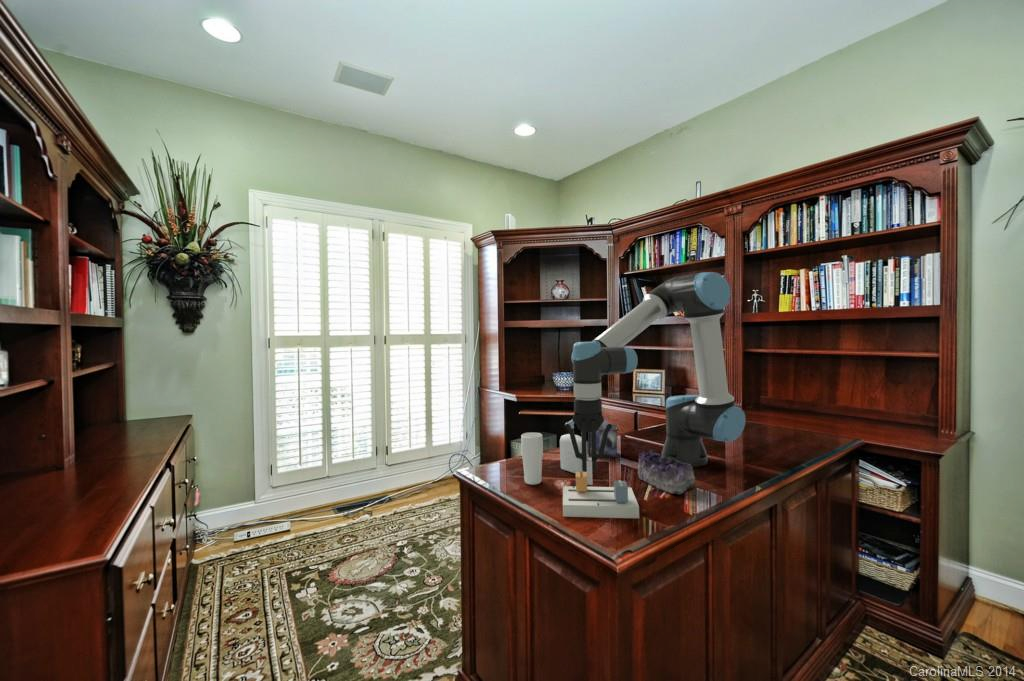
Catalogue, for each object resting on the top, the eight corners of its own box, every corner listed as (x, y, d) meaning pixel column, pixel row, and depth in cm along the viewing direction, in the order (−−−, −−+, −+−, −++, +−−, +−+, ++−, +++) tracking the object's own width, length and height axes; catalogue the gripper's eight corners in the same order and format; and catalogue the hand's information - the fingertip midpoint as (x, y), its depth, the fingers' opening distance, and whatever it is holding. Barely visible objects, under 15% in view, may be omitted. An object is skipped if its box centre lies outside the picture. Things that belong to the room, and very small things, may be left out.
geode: (623, 478, 137) (625, 446, 137) (650, 476, 142) (651, 446, 143) (673, 497, 119) (675, 460, 119) (702, 494, 124) (704, 459, 125)
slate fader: (625, 495, 113) (625, 480, 113) (628, 502, 109) (627, 485, 109) (614, 495, 113) (613, 479, 113) (615, 501, 109) (615, 485, 109)
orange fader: (586, 486, 121) (586, 471, 121) (587, 491, 117) (587, 476, 117) (575, 485, 121) (575, 471, 121) (576, 491, 117) (575, 476, 117)
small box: (588, 457, 159) (587, 429, 159) (588, 452, 166) (587, 425, 166) (617, 457, 158) (617, 429, 157) (616, 452, 164) (615, 425, 164)
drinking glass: (529, 487, 130) (527, 438, 130) (518, 481, 136) (517, 434, 136) (547, 483, 134) (546, 435, 133) (536, 477, 140) (535, 431, 139)
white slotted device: (558, 469, 147) (557, 433, 147) (567, 466, 150) (566, 431, 149) (581, 476, 139) (580, 438, 139) (590, 473, 142) (589, 436, 141)
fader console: (631, 497, 121) (631, 486, 120) (639, 518, 108) (639, 505, 108) (563, 496, 123) (562, 485, 123) (563, 516, 110) (562, 504, 110)
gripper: (610, 395, 121) (612, 478, 121) (563, 395, 122) (565, 477, 123) (613, 400, 113) (615, 488, 114) (563, 400, 115) (565, 487, 116)
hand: (589, 482), depth 119 cm, fingers closed
